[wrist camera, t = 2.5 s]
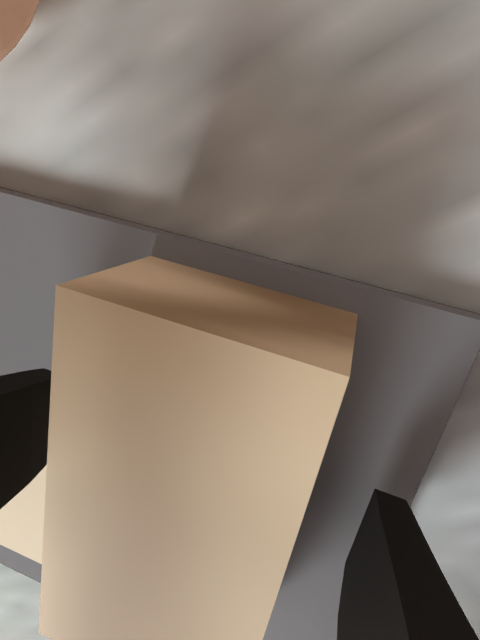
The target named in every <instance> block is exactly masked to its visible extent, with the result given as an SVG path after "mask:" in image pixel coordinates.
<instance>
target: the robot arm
mask: <svg viewBox="0 0 480 640" xmlns="http://www.w3.org/2000/svg"><path fill="white" fill-rule="evenodd" d="M50 390H51V371H50V370H48V369H45V368H41V369H33V370H27V371H22V372H16V373H11V374H6V375H2V376H0V509H1V508H2V507H4V506H5V505H6V504H7V503H8V502H9V501H10V500H11V499H13V498H14V497H15V496H16V495H17V494H18V493H19V492H20V491H22V490H23V489H24V488H25V487H26V486H27V485H28V484H29V483H30V482H31V481H32V480H33V479H34V478H35V477H36V476H37V475H38V474H39V472H40V471H41V470H42V469H43V468H44V467H45V466H46V465H47V451H48V430H49V410H50ZM337 640H479V639H478V637H477V636H476V634H475V632H474V630H473V628H472V627H471V625H470V623H469V621H468V620H467V618H466V616H465V614H464V612H463V610H462V609H461V607H460V605H459V603H458V601H457V599H456V597H455V596H454V594H453V592H452V590H451V588H450V586H449V584H448V583H447V581H446V579H445V577H444V575H443V573H442V571H441V569H440V567H439V565H438V563H437V561H436V559H435V557H434V555H433V553H432V551H431V549H430V547H429V545H428V543H427V541H426V539H425V537H424V535H423V533H422V531H421V529H420V527H419V525H418V523H417V521H416V519H415V516H414V514H413V512H412V510H411V508H410V506H409V504H408V503H407V501H406V500H405V499H402V498H400V497H397V496H394V495H391V494H389V493H386V492H383V491H380V490H378V489H374V492H373V494H372V497H371V499H370V502H369V504H368V507H367V509H366V512H365V514H364V517H363V519H362V522H361V524H360V527H359V529H358V532H357V534H356V537H355V539H354V542H353V544H352V547H351V549H350V552H349V554H348V557H347V559H346V562H345V567H344V574H343V581H342V588H341V595H340V603H339V610H338V624H337Z"/></svg>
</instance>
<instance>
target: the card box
mask: <svg viewBox="0 0 480 640" xmlns="http://www.w3.org/2000/svg"><path fill="white" fill-rule="evenodd" d="M357 317H358V314H356V313H352V312H349V311H345V310H342V309H338V308H335V307H331V306H328V305H324V304H320V303H317V302H313V301H310V300H306V299H303V298H299V297H295V296H292V295H288V294H285V293H281V292H278V291H274V290H271V289H267V288H263V287H260V286H256V285H253V284H249V283H246V282H242V281H238V280H235V279H231V278H228V277H224V276H221V275H217V274H214V273H210V272H206V271H203V270H199V269H196V268H192V267H189V266H185V265H181V264H178V263H174V262H171V261H167V260H164V259H160V258H157V257H153V256H149V257H146V258H142V259H139V260H136V261H133V262H129V263H126V264H123V265H120V266H116V267H113V268H110V269H107V270H103V271H100V272H97V273H93V274H90V275H87V276H84V277H80V278H77V279H74V280H71V281H67V282H64V283H61V284H58V285H56V289H55V309H54V329H53V349H52V370H51V390H50V410H49V430H48V451H47V471H46V491H45V511H44V531H43V552H42V572H41V592H40V612H39V633H40V634H42V635H44V636H46V637H48V638H49V639H51V640H263V637H264V634H265V631H266V628H267V625H268V622H269V619H270V616H271V613H272V610H273V607H274V604H275V601H276V598H277V595H278V592H279V589H280V586H281V583H282V580H283V577H284V574H285V571H286V568H287V565H288V562H289V559H290V556H291V553H292V550H293V547H294V544H295V541H296V538H297V535H298V532H299V529H300V526H301V523H302V520H303V517H304V514H305V511H306V508H307V505H308V502H309V499H310V496H311V493H312V490H313V487H314V483H315V480H316V477H317V474H318V471H319V468H320V465H321V462H322V459H323V456H324V453H325V450H326V447H327V444H328V441H329V438H330V435H331V432H332V429H333V426H334V423H335V420H336V417H337V414H338V411H339V408H340V405H341V402H342V399H343V396H344V393H345V390H346V387H347V384H348V381H349V378H350V372H351V364H352V356H353V348H354V340H355V333H356V325H357Z"/></svg>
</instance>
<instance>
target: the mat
mask: <svg viewBox="0 0 480 640" xmlns="http://www.w3.org/2000/svg"><path fill="white" fill-rule="evenodd" d="M149 256H153V257H157V258H160V259H164V260H167V261H171V262H174V263H178V264H181V265H185V266H189V267H192V268H196V269H199V270H203V271H206V272H210V273H214V274H217V275H221V276H224V277H228V278H231V279H235V280H238V281H242V282H246V283H249V284H253V285H256V286H260V287H263V288H267V289H271V290H274V291H278V292H281V293H285V294H288V295H292V296H295V297H299V298H303V299H306V300H310V301H313V302H317V303H320V304H324V305H328V306H331V307H335V308H338V309H342V310H345V311H349V312H352V313H356V314H358V317H357V325H356V333H355V340H354V348H353V356H352V364H351V372H350V378H349V381H348V384H347V387H346V390H345V393H344V396H343V399H342V402H341V405H340V408H339V411H338V414H337V417H336V420H335V423H334V426H333V429H332V432H331V435H330V438H329V441H328V444H327V447H326V450H325V453H324V456H323V459H322V462H321V465H320V468H319V471H318V474H317V477H316V480H315V483H314V487H313V490H312V493H311V496H310V499H309V502H308V505H307V508H306V511H305V514H304V517H303V520H302V523H301V526H300V529H299V532H298V535H297V538H296V541H295V544H294V547H293V550H292V553H291V556H290V559H289V562H288V565H287V568H286V571H285V574H284V577H283V580H282V583H281V586H280V589H279V592H278V595H277V598H276V601H275V604H274V607H273V610H272V613H271V616H270V619H269V622H268V625H267V628H266V631H265V634H264V637H263V640H337V624H338V610H339V603H340V595H341V588H342V581H343V574H344V567H345V562H346V559H347V557H348V554H349V552H350V549H351V547H352V544H353V542H354V539H355V537H356V534H357V532H358V529H359V527H360V524H361V522H362V519H363V517H364V514H365V512H366V509H367V507H368V504H369V502H370V499H371V497H372V494H373V492H374V489H378V490H380V491H383V492H386V493H389V494H391V495H394V496H397V497H400V498H402V499H405V500H406V501H407V503H408V504H409V506H410V505H411V503H412V501H413V498H414V496H415V494H416V492H417V489H418V487H419V485H420V483H421V480H422V478H423V476H424V474H425V471H426V469H427V467H428V465H429V462H430V460H431V458H432V456H433V453H434V451H435V449H436V447H437V444H438V442H439V440H440V438H441V435H442V433H443V431H444V428H445V426H446V424H447V422H448V419H449V417H450V415H451V413H452V410H453V408H454V406H455V404H456V401H457V399H458V397H459V395H460V392H461V390H462V388H463V386H464V383H465V381H466V379H467V377H468V374H469V372H470V370H471V368H472V365H473V363H474V361H475V359H476V356H477V354H478V352H479V350H480V314H476V313H473V312H469V311H465V310H461V309H457V308H454V307H450V306H446V305H442V304H439V303H435V302H431V301H427V300H424V299H420V298H416V297H412V296H408V295H405V294H401V293H397V292H393V291H390V290H386V289H382V288H378V287H374V286H371V285H367V284H363V283H359V282H356V281H352V280H348V279H344V278H340V277H337V276H333V275H329V274H325V273H322V272H318V271H314V270H310V269H306V268H303V267H299V266H295V265H291V264H288V263H284V262H280V261H276V260H273V259H269V258H265V257H261V256H257V255H254V254H250V253H246V252H242V251H239V250H235V249H231V248H227V247H223V246H220V245H216V244H212V243H208V242H205V241H201V240H197V239H193V238H189V237H186V236H182V235H178V234H174V233H171V232H167V231H163V230H159V229H155V228H152V227H148V226H144V225H140V224H137V223H133V222H129V221H125V220H122V219H118V218H114V217H110V216H106V215H103V214H99V213H95V212H91V211H88V210H84V209H80V208H76V207H72V206H69V205H65V204H61V203H57V202H54V201H50V200H46V199H42V198H38V197H35V196H31V195H27V194H23V193H20V192H16V191H12V190H8V189H4V188H1V187H0V376H2V375H6V374H11V373H16V372H22V371H27V370H33V369H41V368H45V369H48V370H50V371H51V370H52V349H53V329H54V309H55V289H56V285H58V284H61V283H64V282H67V281H71V280H74V279H77V278H80V277H84V276H87V275H90V274H93V273H97V272H100V271H103V270H107V269H110V268H113V267H116V266H120V265H123V264H126V263H129V262H133V261H136V260H139V259H142V258H146V257H149ZM46 471H47V465H46V466H45V467H44V468H43V469H42V470H41V471H40V472H39V474H38V475H37V476H36V477H35V478H34V479H33V480H32V481H31V482H30V483H29V484H28V485H27V486H26V487H25V488H24V489H23V490H22V491H20V492H19V493H18V494H17V495H16V496H15V497H14V498H13V499H11V500H10V501H9V502H8V503H7V504H6V505H5V506H4V507H2V508H1V509H0V563H1V564H3V565H5V566H7V567H9V568H11V569H13V570H15V571H17V572H19V573H21V574H23V575H25V576H27V577H30V578H32V579H34V580H36V581H38V582H40V583H41V572H42V552H43V531H44V511H45V491H46Z"/></svg>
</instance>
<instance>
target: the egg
mask: <svg viewBox="0 0 480 640" xmlns="http://www.w3.org/2000/svg"><path fill="white" fill-rule="evenodd" d="M38 3H39V0H0V61H1V60H2V59H3V58H4V57H5V56H6V55H7V54H8V53H9V52H10V51H12V50H13V49H14V48H15V47H16V45H17V44H18V42H19V41H20V39H21V38H22V36H23V35H24V33H25V32H26V30H27V29H28V28H29V26H30V24H31V21H32V19H33V17H34V15H35V12H36V9H37V6H38Z"/></svg>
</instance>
